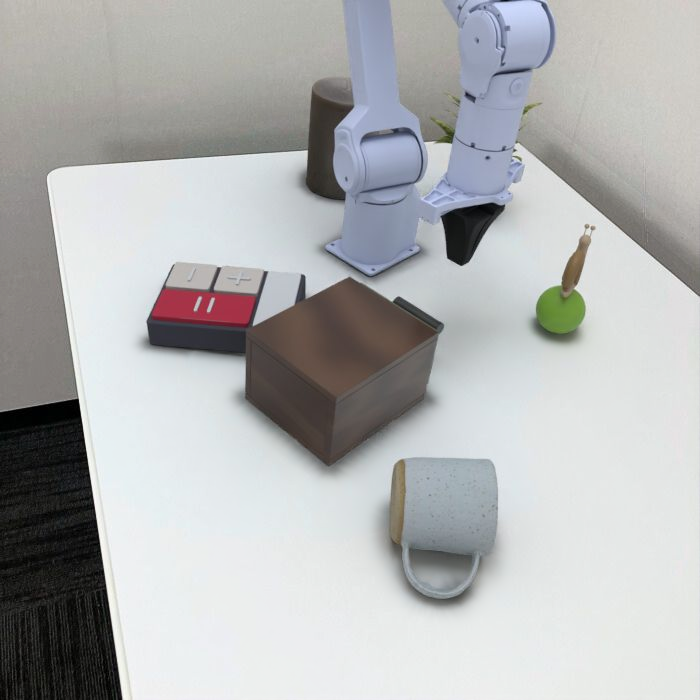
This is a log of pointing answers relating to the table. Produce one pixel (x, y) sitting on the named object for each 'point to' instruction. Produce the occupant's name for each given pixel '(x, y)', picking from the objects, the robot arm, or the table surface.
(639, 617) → the table surface
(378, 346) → the cabinet
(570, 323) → the snail figurine
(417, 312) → the drawer
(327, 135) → the pillar candle
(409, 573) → the ceramic mug
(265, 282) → the calculator
